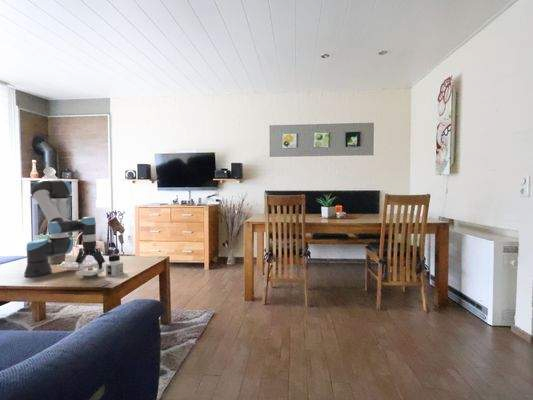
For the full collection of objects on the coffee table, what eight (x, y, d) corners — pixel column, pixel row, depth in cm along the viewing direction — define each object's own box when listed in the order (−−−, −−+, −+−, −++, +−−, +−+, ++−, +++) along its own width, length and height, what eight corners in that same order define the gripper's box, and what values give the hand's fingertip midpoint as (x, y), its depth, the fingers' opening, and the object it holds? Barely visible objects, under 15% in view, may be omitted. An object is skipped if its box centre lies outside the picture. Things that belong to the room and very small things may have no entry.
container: (115, 276, 200) (115, 256, 200) (105, 275, 202) (105, 256, 201) (123, 272, 208) (123, 254, 207) (113, 272, 209) (113, 253, 209)
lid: (76, 275, 193) (76, 269, 193) (89, 270, 204) (89, 264, 203) (91, 275, 190) (90, 269, 190) (103, 271, 201) (103, 265, 201)
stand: (82, 278, 195) (82, 274, 195) (90, 276, 201) (90, 271, 201) (90, 279, 194) (90, 274, 193) (98, 276, 199) (97, 272, 199)
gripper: (68, 241, 195) (69, 274, 196) (101, 242, 190) (102, 275, 191) (77, 239, 203) (79, 271, 203) (110, 240, 197) (111, 272, 198)
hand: (90, 273), depth 197 cm, fingers open, 13 cm apart
